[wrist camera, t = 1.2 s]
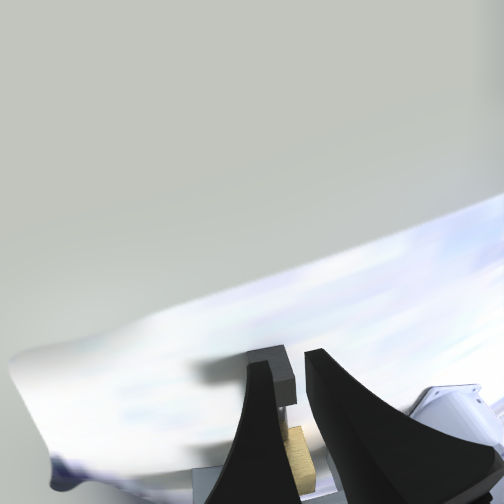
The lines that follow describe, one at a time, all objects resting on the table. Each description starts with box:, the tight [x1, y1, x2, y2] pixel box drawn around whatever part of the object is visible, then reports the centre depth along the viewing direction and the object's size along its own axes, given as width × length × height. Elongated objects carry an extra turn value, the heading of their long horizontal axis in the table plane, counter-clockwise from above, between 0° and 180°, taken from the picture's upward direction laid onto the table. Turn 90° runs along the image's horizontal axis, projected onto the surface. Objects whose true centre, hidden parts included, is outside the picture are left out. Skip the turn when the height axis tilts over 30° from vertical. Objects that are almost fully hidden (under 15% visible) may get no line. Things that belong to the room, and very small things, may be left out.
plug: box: [247, 345, 316, 496], centre depth 20 cm, size 14×4×5 cm, turn 8°
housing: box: [192, 448, 348, 504], centre depth 23 cm, size 3×17×7 cm, turn 98°
